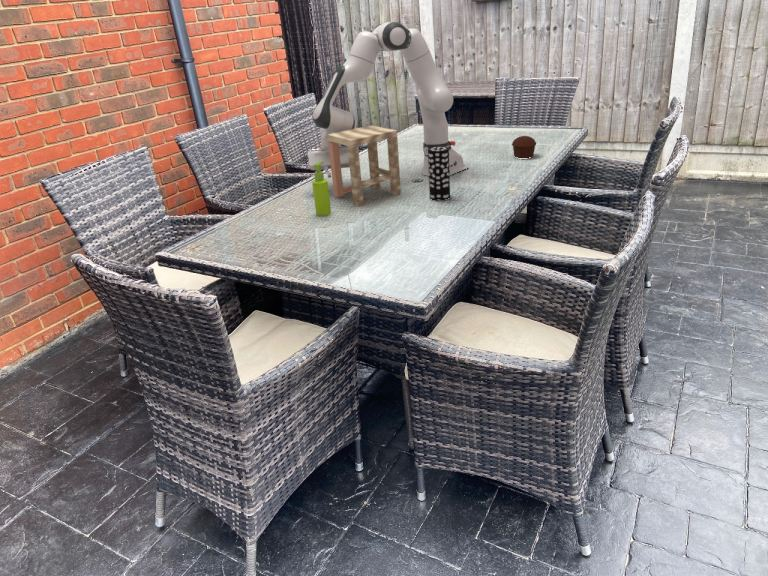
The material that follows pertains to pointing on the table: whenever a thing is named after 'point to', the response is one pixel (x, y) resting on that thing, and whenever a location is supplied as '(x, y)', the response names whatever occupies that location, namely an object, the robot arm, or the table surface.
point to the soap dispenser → (321, 192)
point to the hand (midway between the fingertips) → (333, 176)
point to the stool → (370, 158)
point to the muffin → (524, 147)
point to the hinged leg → (337, 171)
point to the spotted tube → (439, 173)
